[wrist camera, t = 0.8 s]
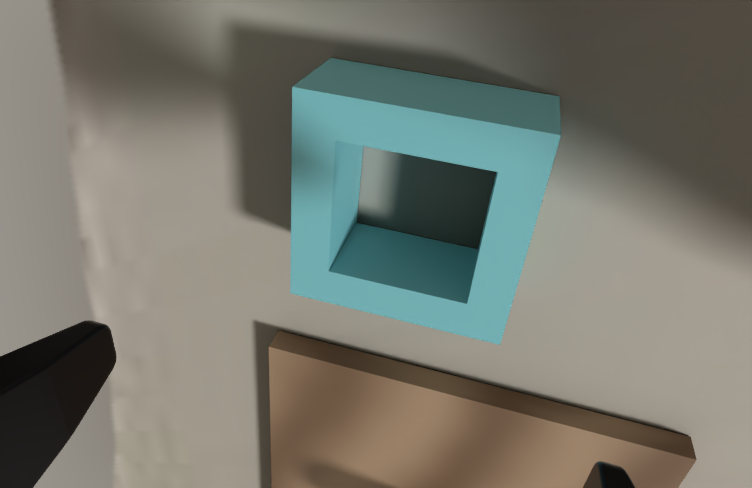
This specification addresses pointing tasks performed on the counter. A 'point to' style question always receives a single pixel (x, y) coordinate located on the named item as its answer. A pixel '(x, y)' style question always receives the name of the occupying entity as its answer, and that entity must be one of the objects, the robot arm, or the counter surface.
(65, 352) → the robot arm
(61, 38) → the counter surface
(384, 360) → the base plate
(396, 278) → the ring
